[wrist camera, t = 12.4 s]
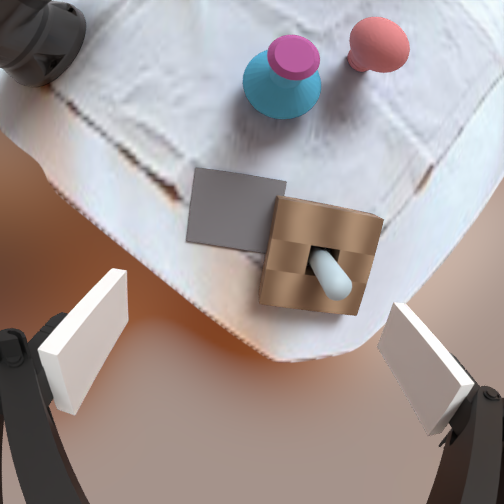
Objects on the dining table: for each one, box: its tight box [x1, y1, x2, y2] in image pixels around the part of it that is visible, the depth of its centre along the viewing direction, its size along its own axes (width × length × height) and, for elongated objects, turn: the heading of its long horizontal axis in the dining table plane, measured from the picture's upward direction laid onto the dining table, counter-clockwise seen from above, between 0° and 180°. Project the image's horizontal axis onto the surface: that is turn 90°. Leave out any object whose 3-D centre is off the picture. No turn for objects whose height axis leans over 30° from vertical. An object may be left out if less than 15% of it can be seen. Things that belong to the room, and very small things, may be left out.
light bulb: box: [348, 17, 410, 73], centre depth 29 cm, size 7×7×12 cm
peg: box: [308, 245, 352, 301], centre depth 37 cm, size 3×3×12 cm
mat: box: [186, 168, 287, 253], centre depth 41 cm, size 12×10×1 cm
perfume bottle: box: [243, 35, 321, 119], centre depth 29 cm, size 9×9×15 cm
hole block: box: [259, 195, 384, 316], centre depth 41 cm, size 14×14×4 cm
